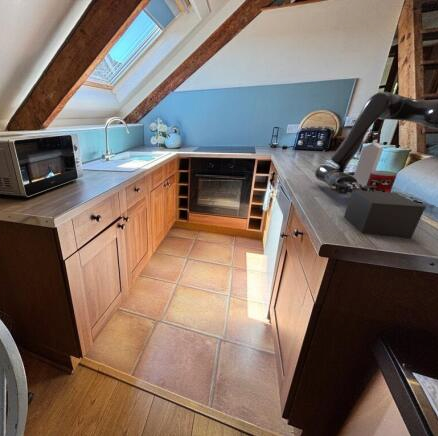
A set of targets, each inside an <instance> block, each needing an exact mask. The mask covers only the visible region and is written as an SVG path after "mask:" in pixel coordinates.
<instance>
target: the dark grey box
mask: <svg viewBox="0 0 438 436" xmlns="http://www.w3.org/2000/svg"><path fill="white" fill-rule="evenodd" d="M347 202H348V203H347V205H346V209H345V212H344V215H343V217H344V219H345V220H346V221H347V222H348V223H349V224H351V225H352V226H353V227H354V228H355V229H356V230H357V231H358V232H359V233H360V234H363V235H364V234H365V235H373V236H383V237H392V238H393V237H394V238H403V239H412V238H413V236H414V233H415V231H416V229H417V227H418V224H419V222H420V219H421V218H422V215H423V213H424V211H425V209H426V206H425V205H423V204H421V203H419V202H416V201H414V200H412V199H410V198H409V197H406V196H404V195H402V194H400V193H397V192H391V191H390V192H374V191H358V190H352V193H351V194H350V196H349V199H348V201H347Z"/></svg>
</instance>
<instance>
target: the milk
mask: <svg viewBox="0 0 438 436" xmlns="http://www.w3.org/2000/svg"><path fill="white" fill-rule="evenodd" d="M378 141H379V140H378V139H373V140H372V143H370V144H368V145H365V146H362V147H361V148H362V149H361V151H360V154H359V158H358V161H357V164H356V167H355V171H354V174H353V177H354V178H355V179H356V180H357V183H358V184H361V185H362V186H363V187H364V186H366V185H367V182H368V179H369V176H370V173H371V171H377V168H378V165H379V162H380V160H381V156H382V153H383V151H384V148H385V147H384V146H383V145H381V144H379V143H378Z"/></svg>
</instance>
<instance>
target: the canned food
mask: <svg viewBox="0 0 438 436" xmlns="http://www.w3.org/2000/svg"><path fill="white" fill-rule="evenodd" d="M397 175H398V172H394V171H388V170H376V171H371V173H370V176H369V179H368V182H367V185H370V186H371V187H370V189H369V191H374V192H391V191H392V188H393V186H394V184H395V181H396V179H397Z"/></svg>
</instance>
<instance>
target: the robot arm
mask: <svg viewBox="0 0 438 436" xmlns="http://www.w3.org/2000/svg"><path fill="white" fill-rule="evenodd" d="M378 119H379V120H390V121H404V122H410V123H414V124H416V125H420V126H422V127H426V128H431V129H434V130H438V99H429V100H428V99H427V100H426V99H417V98H412V97H407V96H402V95H400V94H397V93H393V92H389V91H379V92H377V93H374V94H373V95H372V96H371V97H370V98H369V99H367V101H366V103H365V104H364V105H363V107H362V109H361V110H360V113H359V115H358V116H357V118H356V120H355V122H354V124H353V125H352V127H351V129H349V132H348V134H347V135H346V136H345V138H344V140H343V141H342V143H341V144H340V145H339V147H338V148H337V149H336V151H334V153H333V154H332V156H331V157H330V160H331V162H333V163H334V164H336V165H337V166H336V167H333V166H330V165H328V164H321V165H319V167H317V168H316V169H315V172H314V177H315V178H316V179H317V180H319V181H321V182H324V183H325V184H327V185H328V186H329V187H330V191H334V192H336V193H338V194H341V195H346V194H347V195H351V193H352V190H358V191H369V189H370V187H371V186H370V185H366V186H364V187H363V186H362V185H361V184H358V183H357V180H356V179H355V178H354V176H352V175H350V174H348V173H346V172H345V170H346V168H347V166H348V165H349V163H350V161H351V160H352V159H353V158H354V157H355V156H356V155H357V153H358V152H359V151H360V149H361V148H362V145H363V143H364V139H365V137H366V135H367V132H368V131H369V129H370V128H371V127H372V126H373V124H374V123H375V122H376V121H377V120H378Z"/></svg>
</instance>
